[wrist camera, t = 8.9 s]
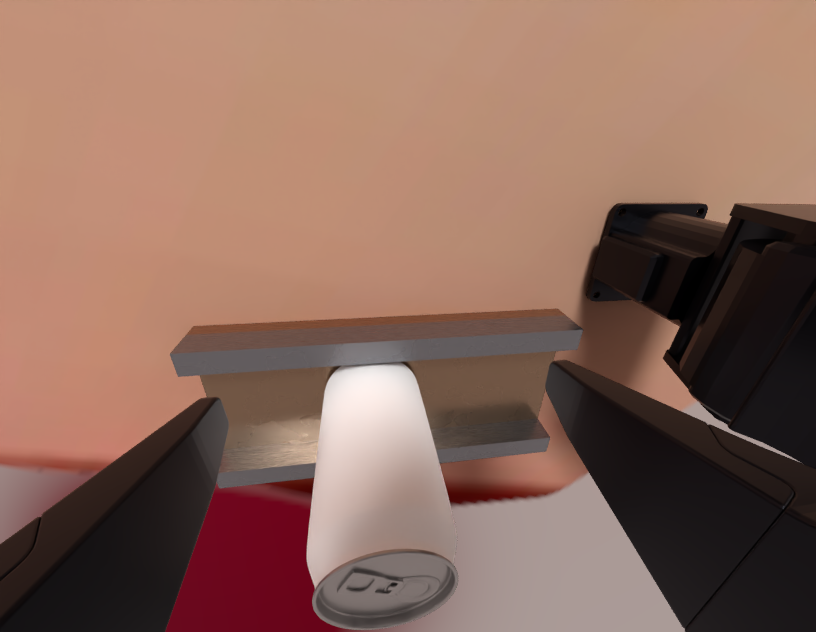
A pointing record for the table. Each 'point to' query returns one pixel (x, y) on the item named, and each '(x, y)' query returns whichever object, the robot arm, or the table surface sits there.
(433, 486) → the can
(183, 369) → the track
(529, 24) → the table surface
